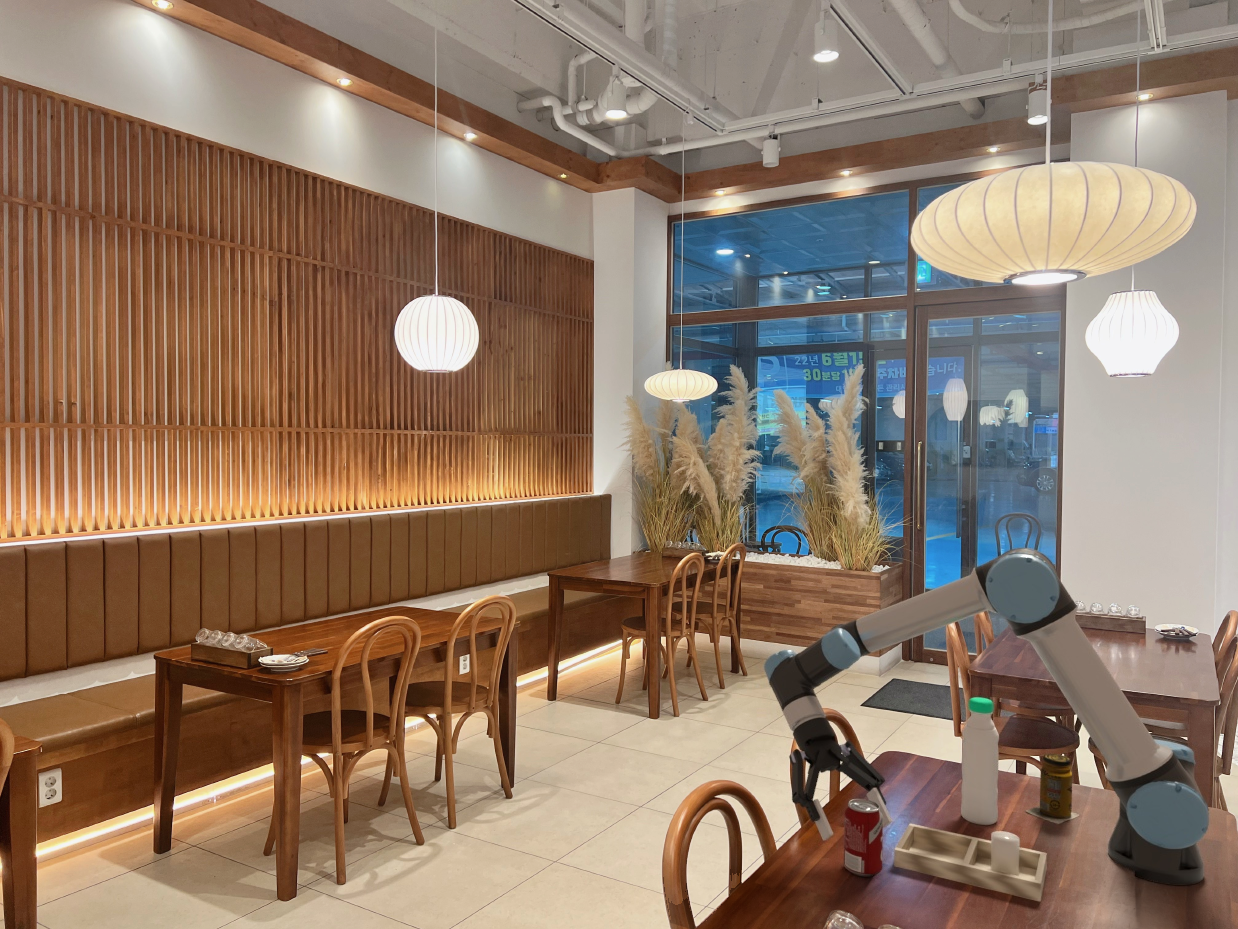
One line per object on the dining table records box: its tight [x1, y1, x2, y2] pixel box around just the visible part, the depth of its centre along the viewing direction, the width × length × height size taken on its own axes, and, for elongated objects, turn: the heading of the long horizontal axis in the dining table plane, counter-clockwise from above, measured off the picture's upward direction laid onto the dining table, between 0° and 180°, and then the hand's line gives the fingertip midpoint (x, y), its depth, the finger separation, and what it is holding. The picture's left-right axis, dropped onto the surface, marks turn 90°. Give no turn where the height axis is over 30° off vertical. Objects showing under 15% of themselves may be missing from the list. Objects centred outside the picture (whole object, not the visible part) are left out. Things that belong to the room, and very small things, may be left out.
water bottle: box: [960, 696, 1000, 826], centre depth 181 cm, size 7×7×25 cm
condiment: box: [1025, 753, 1081, 825], centre depth 184 cm, size 7×8×12 cm
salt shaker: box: [990, 830, 1020, 876], centre depth 155 cm, size 5×5×7 cm
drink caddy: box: [893, 823, 1048, 903], centre depth 157 cm, size 24×13×4 cm, turn 60°
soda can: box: [843, 798, 884, 878], centre depth 158 cm, size 7×7×12 cm
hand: (858, 831), depth 159 cm, fingers open, 13 cm apart
